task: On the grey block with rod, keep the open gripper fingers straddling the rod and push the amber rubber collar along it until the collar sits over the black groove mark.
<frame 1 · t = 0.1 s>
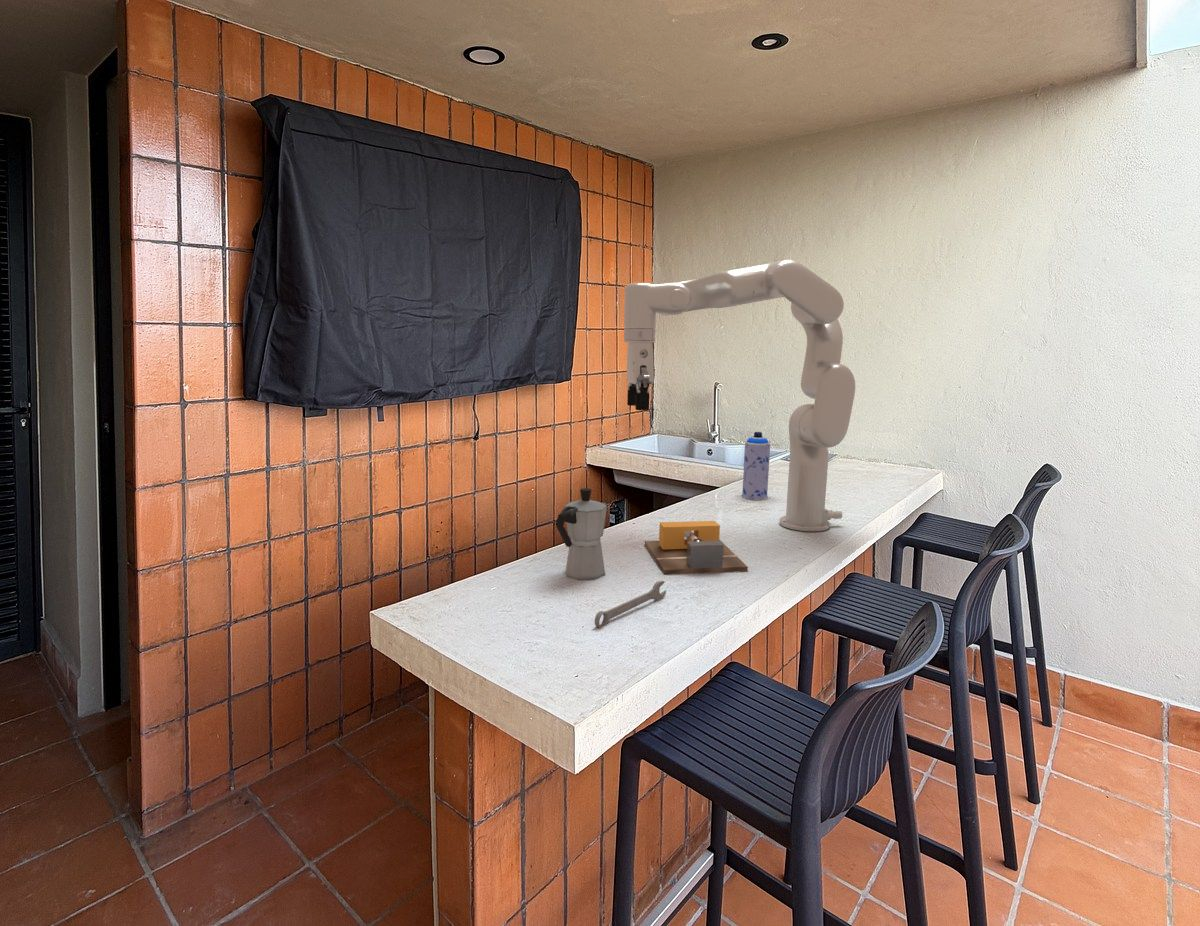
hand: (637, 407, 170), 31 cm above the worktop, tool pointing down, fingers open, 9 cm apart
aerosol can: (754, 497, 212), on the worktop
grey block with rod: (694, 543, 155), on the pipe board, point 4 cm above the worktop
coffee maker: (581, 575, 144), on the worktop
collar: (689, 534, 159), point 4 cm above the worktop, slide at 0.0 cm
pipe board: (693, 557, 156), on the worktop
combination wrench: (633, 613, 126), on the worktop
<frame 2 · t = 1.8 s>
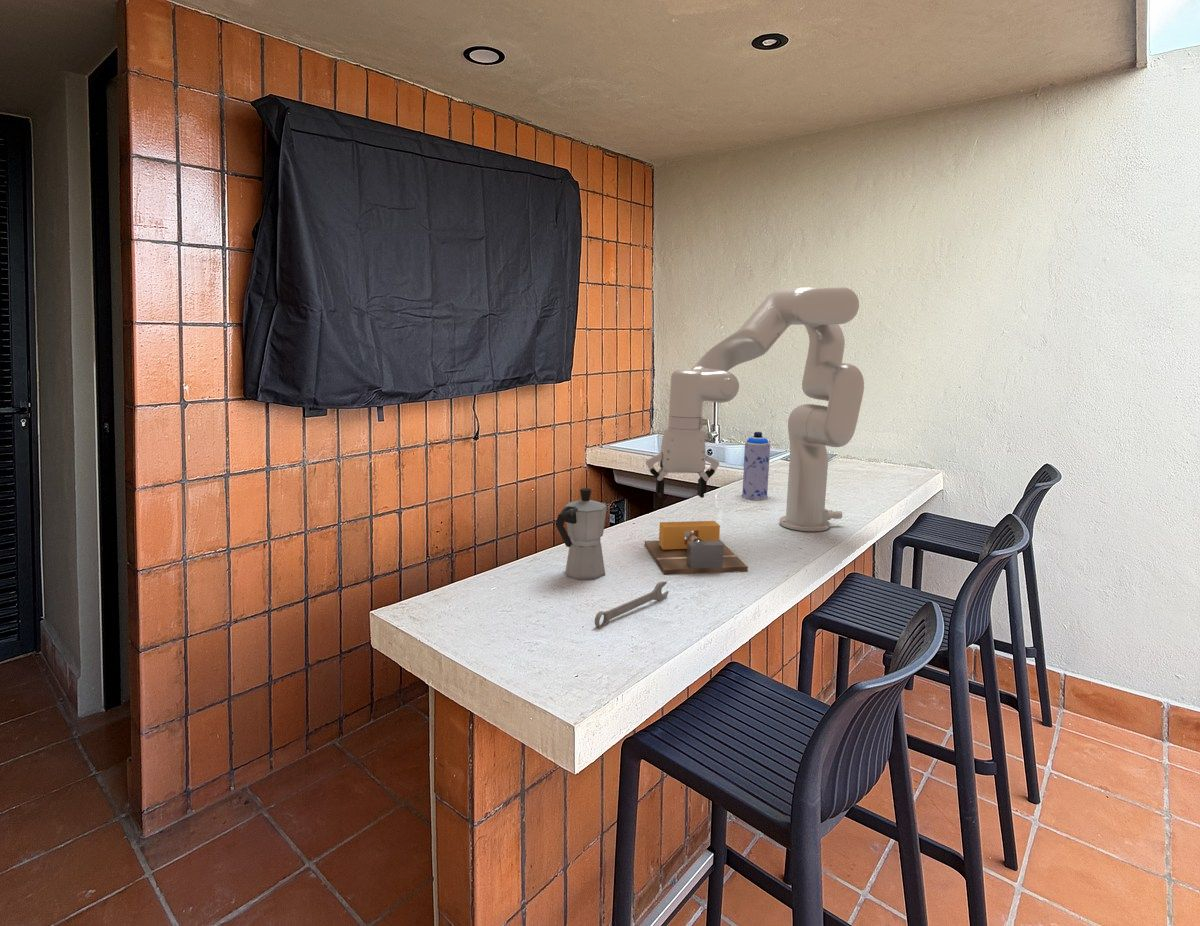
hand: (680, 496, 163), 12 cm above the worktop, tool pointing down, fingers open, 9 cm apart
nothing on the worktop moved.
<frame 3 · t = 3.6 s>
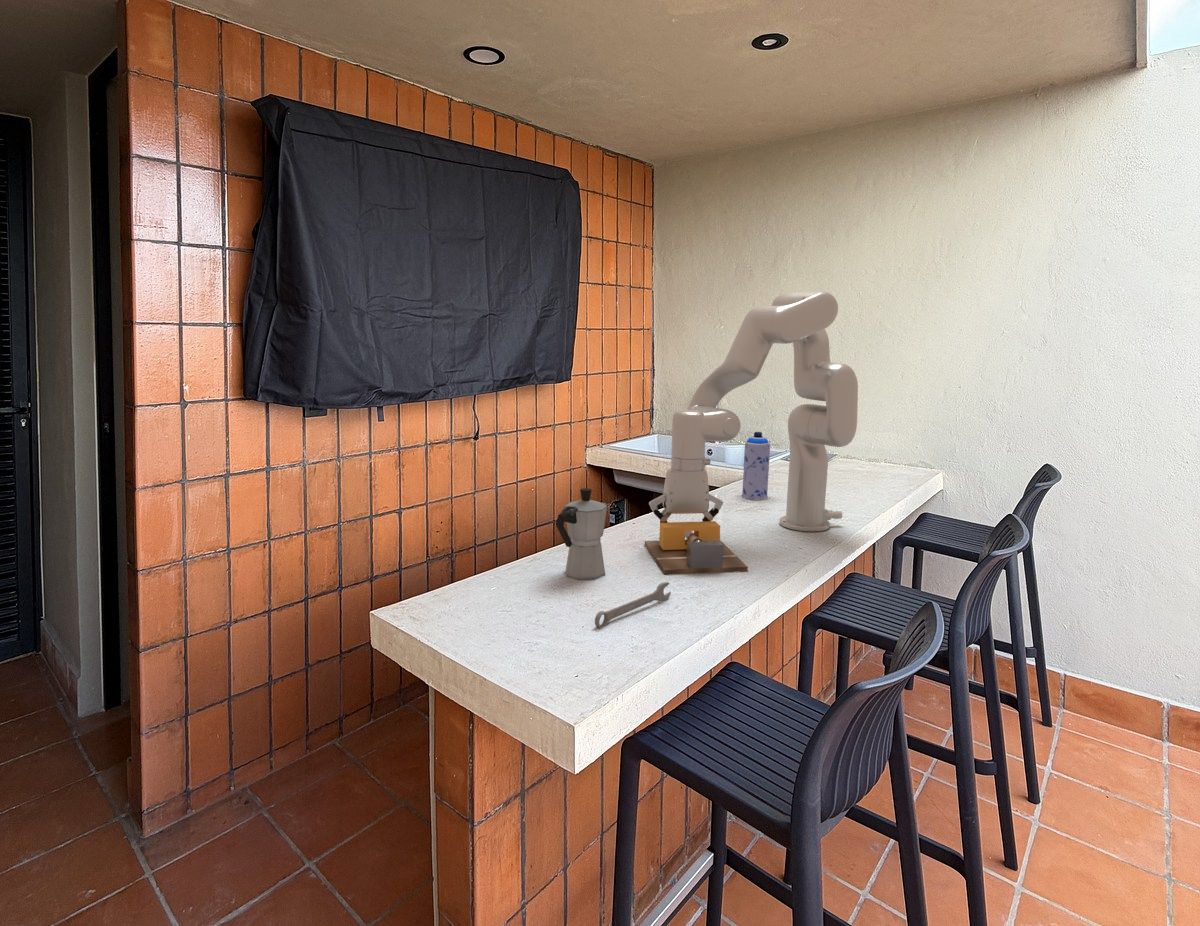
hand: (684, 536, 162), 3 cm above the worktop, tool pointing down, fingers open, 9 cm apart
collar: (689, 535, 158), point 4 cm above the worktop, slide at 0.3 cm, touching gripper
everything else where it was.
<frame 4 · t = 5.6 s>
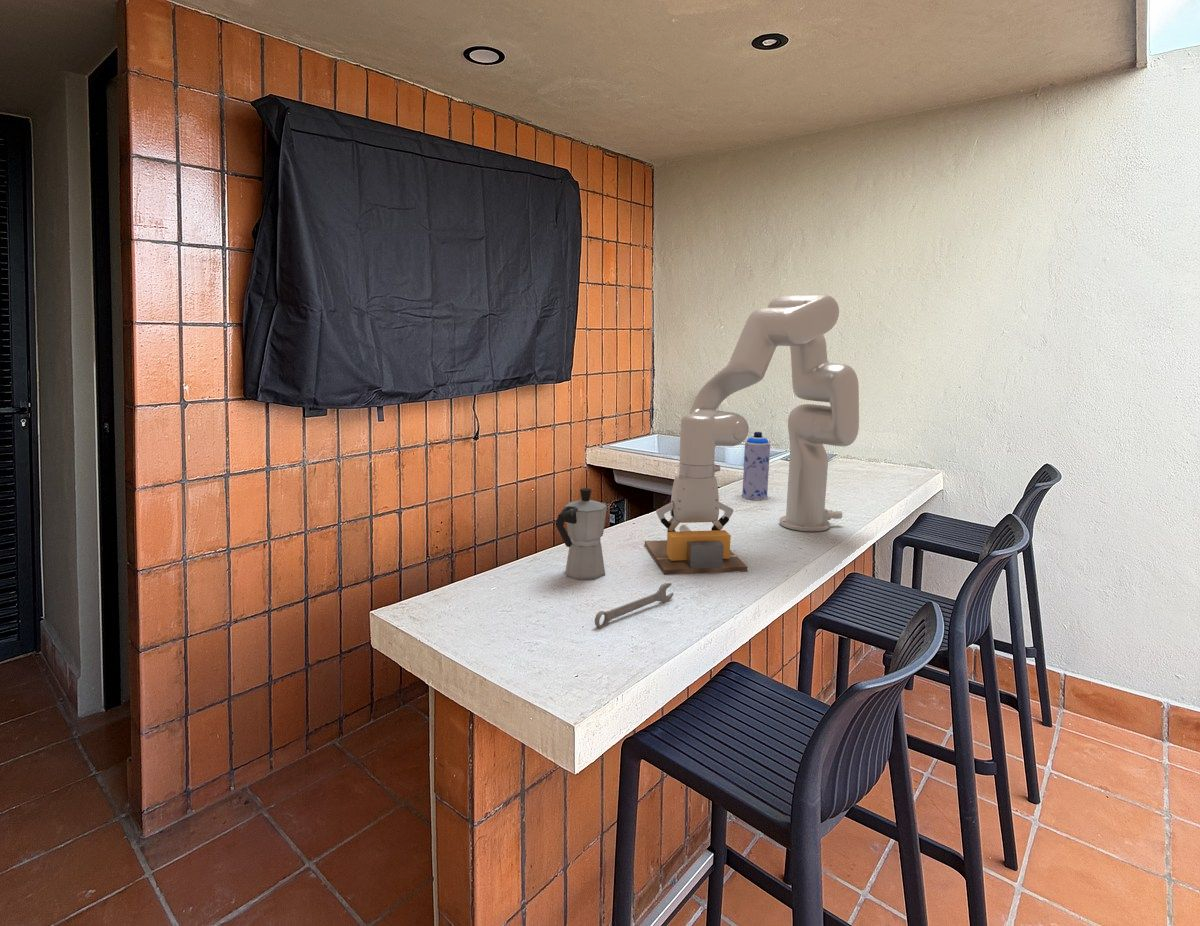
hand: (693, 546, 155), 3 cm above the worktop, tool pointing down
collar: (698, 545, 151), point 4 cm above the worktop, slide at 7.6 cm, touching gripper
everything else where it was.
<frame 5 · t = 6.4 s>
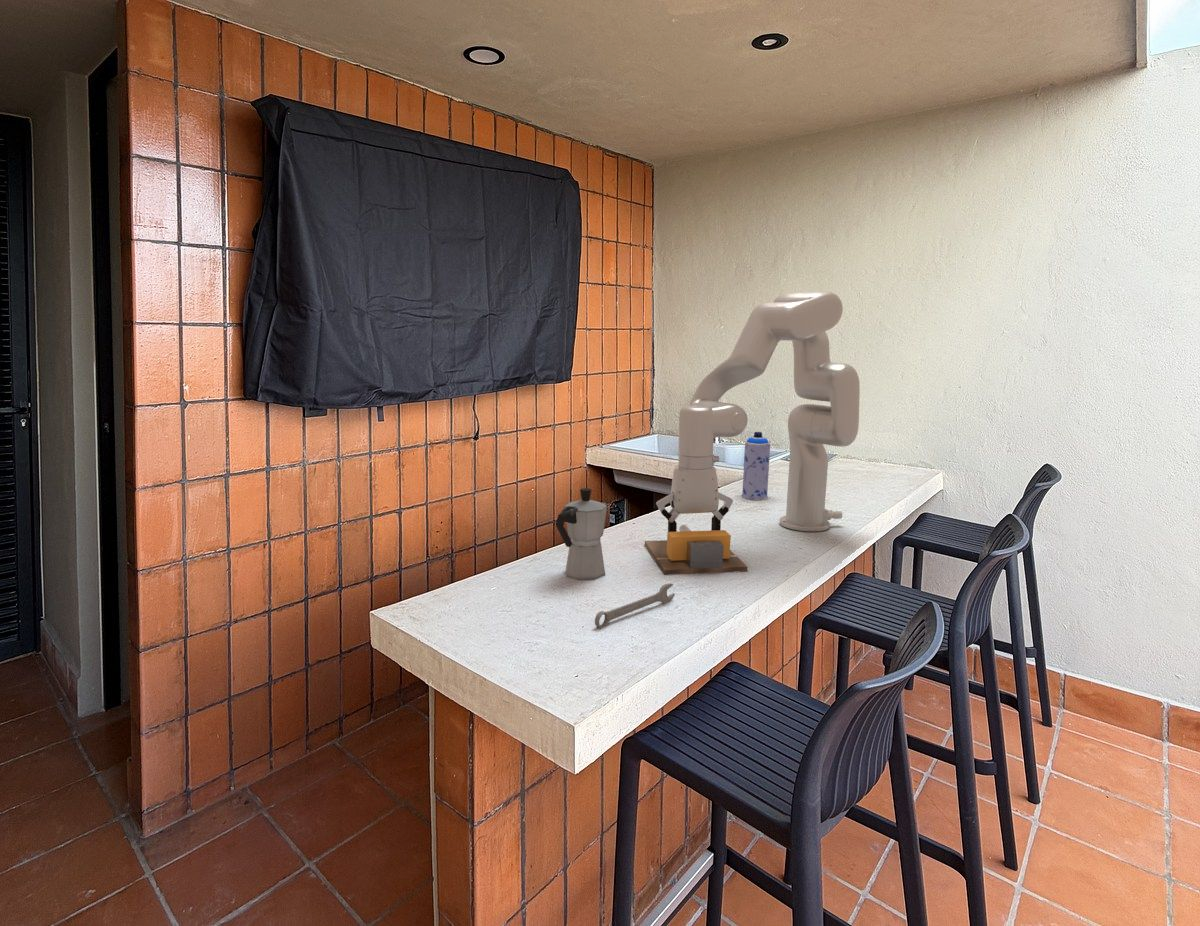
hand: (694, 536, 157), 4 cm above the worktop, tool pointing down, fingers open, 9 cm apart
collar: (698, 545, 151), point 4 cm above the worktop, slide at 7.6 cm
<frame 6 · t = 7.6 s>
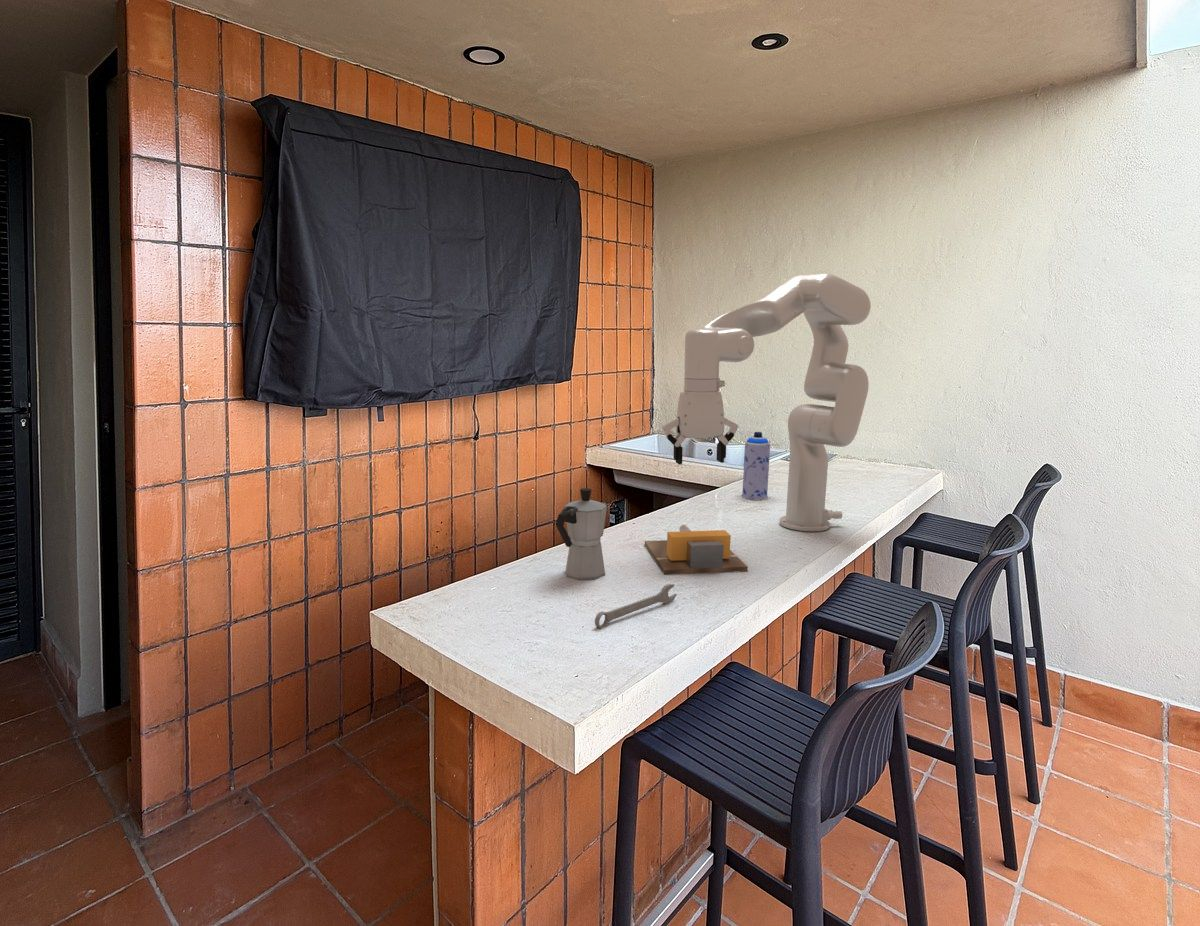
hand: (699, 462, 157), 21 cm above the worktop, tool pointing down, fingers open, 9 cm apart
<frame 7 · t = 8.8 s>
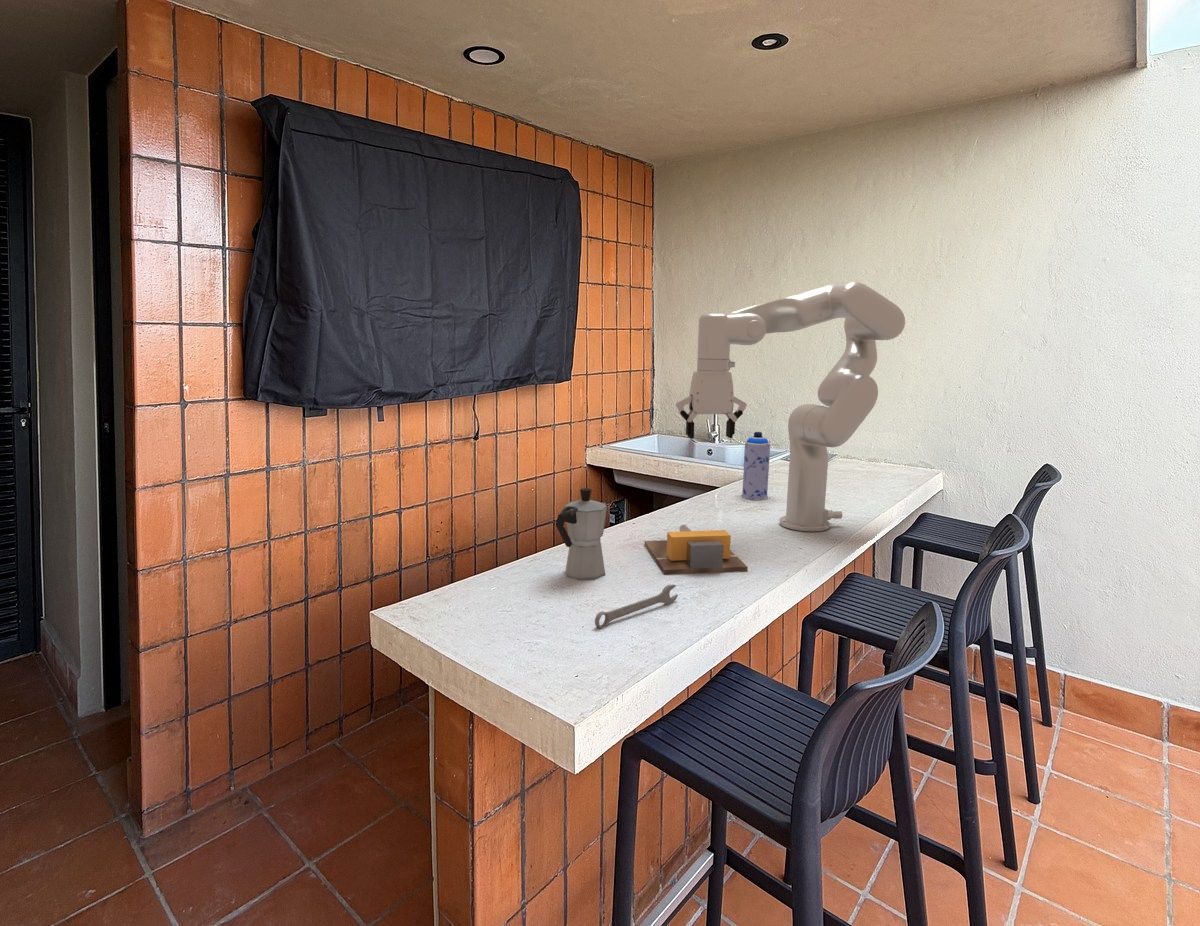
hand: (710, 437, 169), 24 cm above the worktop, tool pointing down, fingers open, 9 cm apart
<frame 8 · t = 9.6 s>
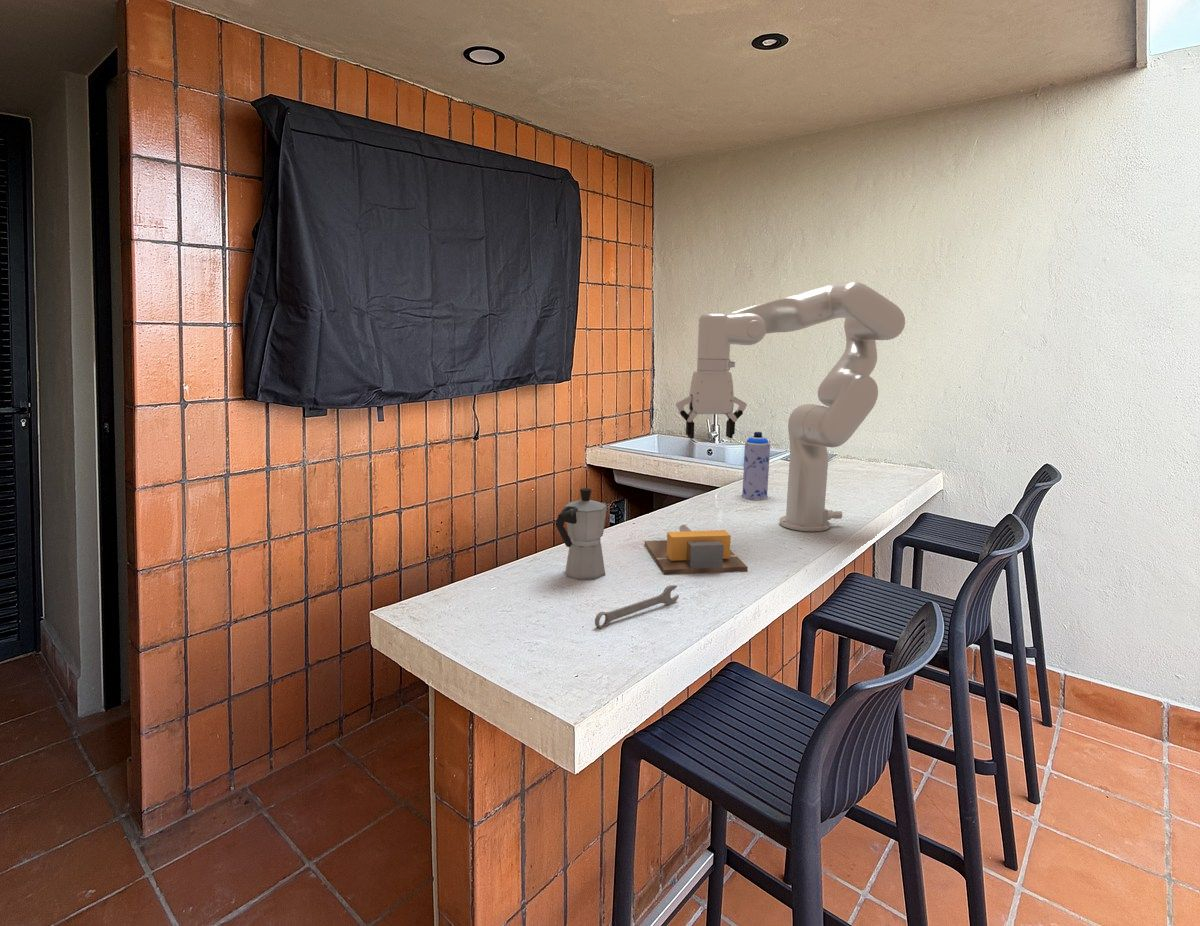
hand: (710, 437, 169), 24 cm above the worktop, tool pointing down, fingers open, 9 cm apart
at the end: collar slide at 7.6 cm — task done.
